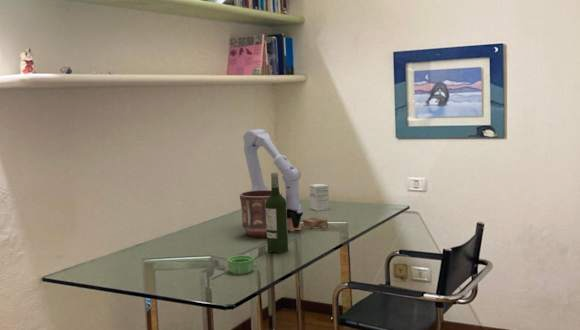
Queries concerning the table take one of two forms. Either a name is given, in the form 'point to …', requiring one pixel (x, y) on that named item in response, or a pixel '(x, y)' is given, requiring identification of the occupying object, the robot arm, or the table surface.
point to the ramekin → (240, 264)
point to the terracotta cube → (291, 225)
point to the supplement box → (319, 197)
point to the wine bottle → (276, 219)
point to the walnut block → (315, 222)
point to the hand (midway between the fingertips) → (293, 226)
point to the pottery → (254, 212)
